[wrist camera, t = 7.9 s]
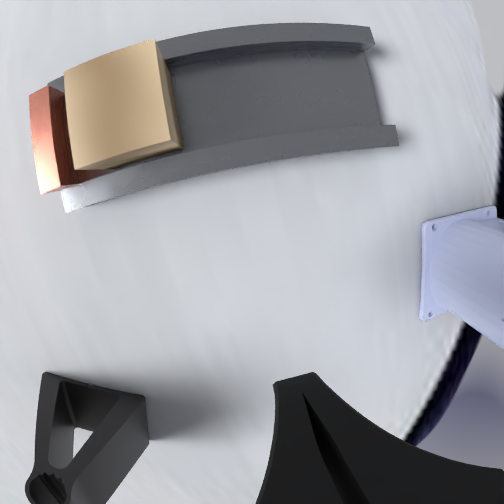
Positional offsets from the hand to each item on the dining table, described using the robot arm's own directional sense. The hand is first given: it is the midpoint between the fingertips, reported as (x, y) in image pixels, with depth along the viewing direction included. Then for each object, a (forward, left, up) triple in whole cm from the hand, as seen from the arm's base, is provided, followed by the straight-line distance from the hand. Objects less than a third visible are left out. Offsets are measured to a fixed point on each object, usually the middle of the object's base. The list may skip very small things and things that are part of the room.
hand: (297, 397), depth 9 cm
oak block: (+4, -11, -8) cm, 14 cm away
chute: (0, -11, -9) cm, 14 cm away
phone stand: (+15, +8, -10) cm, 20 cm away
